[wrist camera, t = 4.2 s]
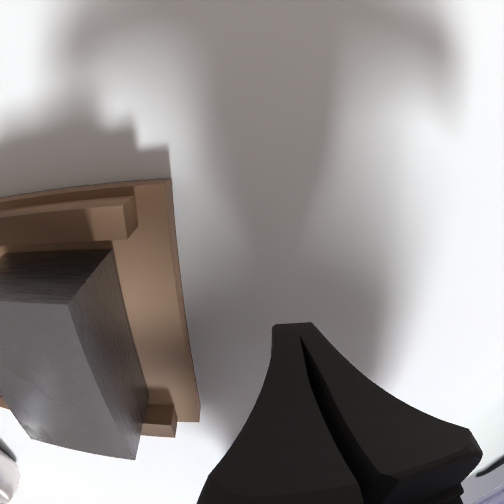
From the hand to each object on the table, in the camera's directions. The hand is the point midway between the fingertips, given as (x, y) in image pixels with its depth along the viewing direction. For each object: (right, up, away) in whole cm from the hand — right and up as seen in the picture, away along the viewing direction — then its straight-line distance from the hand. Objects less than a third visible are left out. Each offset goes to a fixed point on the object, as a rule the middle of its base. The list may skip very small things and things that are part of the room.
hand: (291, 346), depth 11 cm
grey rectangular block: (-8, 0, 0) cm, 8 cm away
